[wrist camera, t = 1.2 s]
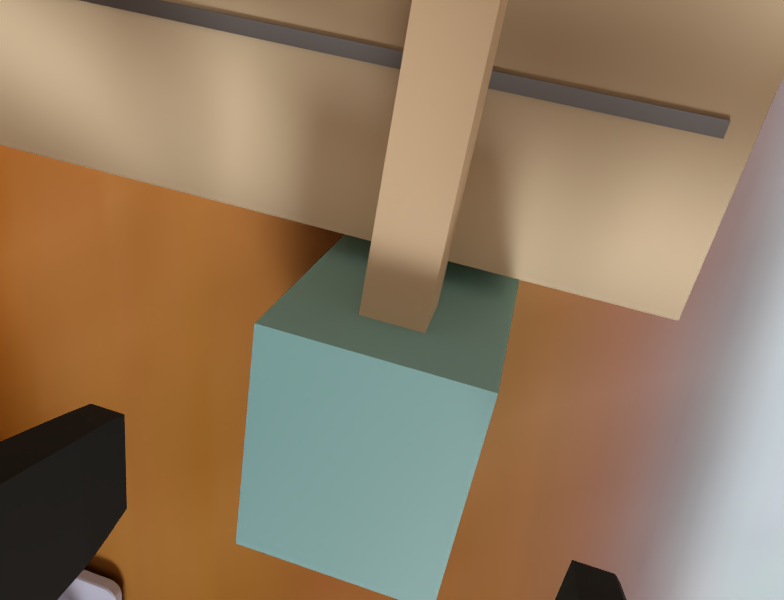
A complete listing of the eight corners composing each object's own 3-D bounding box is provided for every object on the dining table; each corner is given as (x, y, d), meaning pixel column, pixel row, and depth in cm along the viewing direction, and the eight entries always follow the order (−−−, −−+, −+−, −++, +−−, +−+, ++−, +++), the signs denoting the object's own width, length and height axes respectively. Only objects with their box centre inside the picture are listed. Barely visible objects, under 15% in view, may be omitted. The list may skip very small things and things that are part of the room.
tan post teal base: (469, 448, 16) (432, 611, 12) (323, 404, 17) (235, 543, 12) (626, -92, 11) (666, -165, 6) (403, -130, 11) (300, -219, 7)
